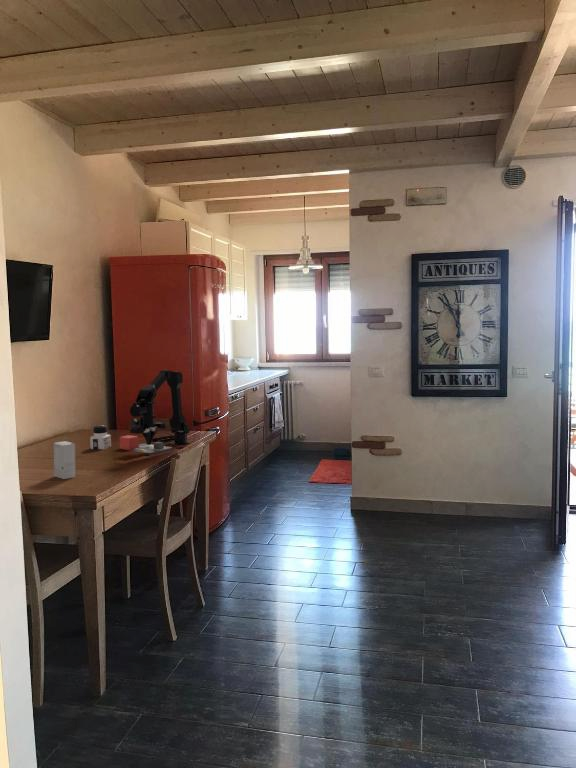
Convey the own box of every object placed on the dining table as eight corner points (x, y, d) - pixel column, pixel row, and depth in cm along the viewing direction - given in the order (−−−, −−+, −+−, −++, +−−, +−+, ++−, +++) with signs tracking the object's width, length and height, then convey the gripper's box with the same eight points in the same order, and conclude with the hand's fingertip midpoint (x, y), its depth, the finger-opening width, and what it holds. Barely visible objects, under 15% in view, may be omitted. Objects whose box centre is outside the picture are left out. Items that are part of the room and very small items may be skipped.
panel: (143, 446, 332) (143, 442, 332) (172, 450, 319) (172, 446, 319) (119, 451, 319) (119, 447, 319) (149, 456, 306) (149, 452, 306)
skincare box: (53, 476, 268) (51, 442, 266) (66, 474, 272) (64, 440, 271) (64, 479, 262) (62, 444, 261) (77, 476, 267) (75, 442, 265)
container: (104, 452, 318) (103, 427, 317) (90, 451, 320) (89, 426, 318) (111, 449, 326) (110, 424, 324) (97, 448, 327) (96, 424, 326)
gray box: (158, 447, 318) (157, 441, 318) (163, 448, 316) (163, 442, 316) (153, 448, 316) (153, 442, 315) (159, 449, 313) (159, 443, 313)
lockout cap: (129, 446, 324) (129, 435, 324) (138, 447, 320) (138, 436, 319) (120, 448, 319) (119, 437, 318) (129, 450, 315) (129, 438, 314)
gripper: (150, 410, 321) (151, 440, 323) (122, 415, 306) (123, 446, 307) (165, 412, 315) (166, 442, 316) (137, 417, 299) (138, 448, 301)
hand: (148, 444), depth 310 cm, fingers closed
